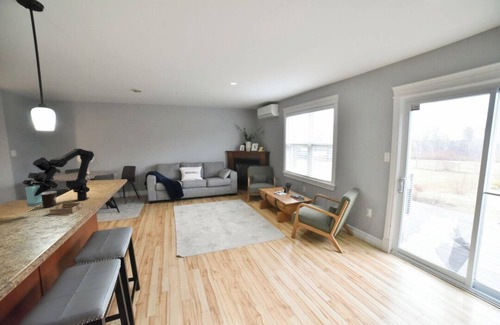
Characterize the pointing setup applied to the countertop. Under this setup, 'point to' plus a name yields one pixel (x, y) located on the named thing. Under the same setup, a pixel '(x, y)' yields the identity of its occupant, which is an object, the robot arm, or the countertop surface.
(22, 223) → the countertop surface
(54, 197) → the coffee mug
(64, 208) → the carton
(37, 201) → the tea tin
